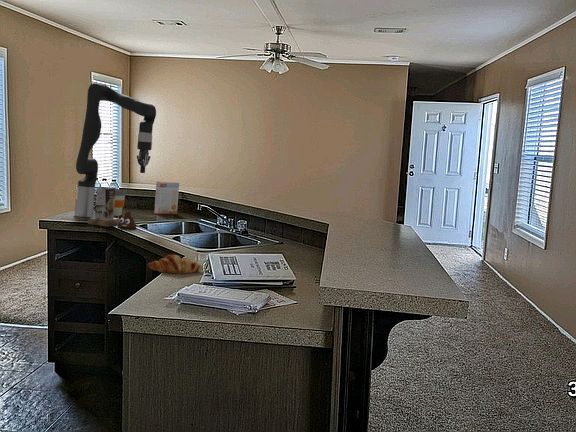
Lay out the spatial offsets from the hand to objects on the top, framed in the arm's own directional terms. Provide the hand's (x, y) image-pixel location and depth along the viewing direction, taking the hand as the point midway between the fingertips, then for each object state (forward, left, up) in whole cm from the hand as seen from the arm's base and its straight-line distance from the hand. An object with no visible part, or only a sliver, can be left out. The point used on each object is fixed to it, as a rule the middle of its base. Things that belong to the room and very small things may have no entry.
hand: (142, 172), depth 324 cm
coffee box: (-15, -10, -26) cm, 32 cm away
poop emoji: (-1, -12, -29) cm, 32 cm away
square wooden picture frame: (-15, -11, -29) cm, 34 cm away
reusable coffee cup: (-29, +27, -29) cm, 49 cm away
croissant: (+59, -93, -29) cm, 114 cm away
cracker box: (-9, +59, -29) cm, 66 cm away
